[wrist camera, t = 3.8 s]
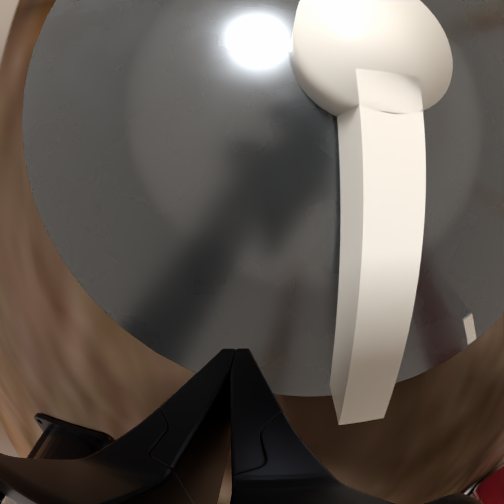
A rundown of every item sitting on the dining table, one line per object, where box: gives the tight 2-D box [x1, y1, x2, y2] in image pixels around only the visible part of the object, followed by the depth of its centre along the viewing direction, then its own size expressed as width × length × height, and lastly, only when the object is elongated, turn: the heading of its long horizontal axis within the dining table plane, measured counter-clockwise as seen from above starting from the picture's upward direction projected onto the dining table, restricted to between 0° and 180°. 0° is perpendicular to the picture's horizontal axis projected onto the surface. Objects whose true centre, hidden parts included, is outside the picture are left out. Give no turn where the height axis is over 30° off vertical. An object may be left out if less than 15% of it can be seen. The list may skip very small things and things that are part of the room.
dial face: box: [22, 0, 504, 397], centre depth 7 cm, size 24×24×1 cm
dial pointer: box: [289, 0, 453, 425], centre depth 7 cm, size 13×4×2 cm, turn 4°
